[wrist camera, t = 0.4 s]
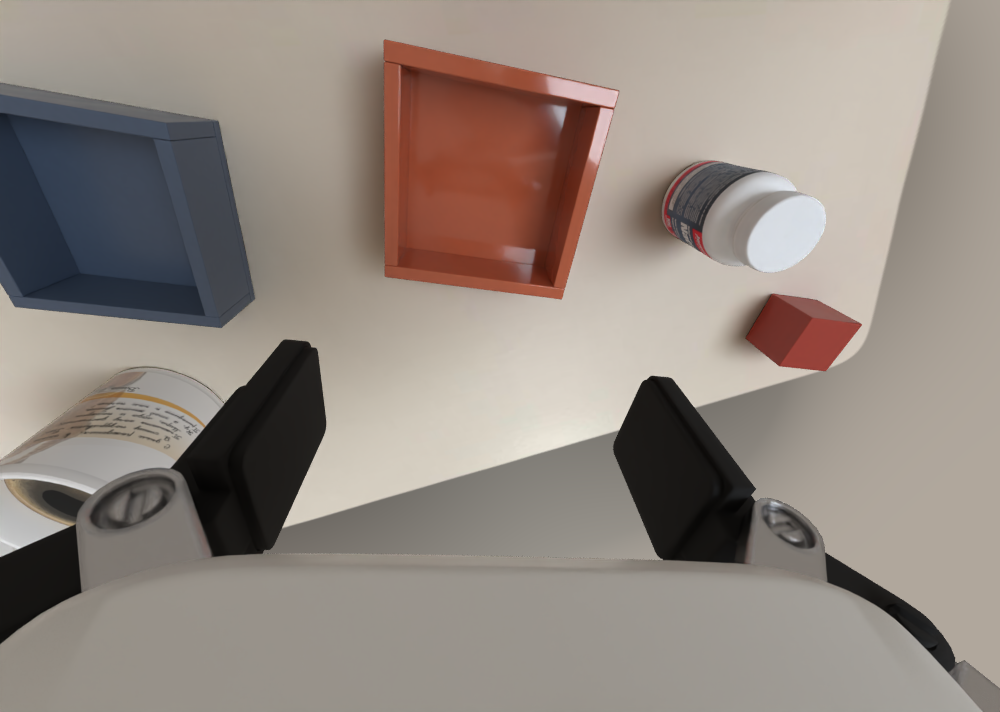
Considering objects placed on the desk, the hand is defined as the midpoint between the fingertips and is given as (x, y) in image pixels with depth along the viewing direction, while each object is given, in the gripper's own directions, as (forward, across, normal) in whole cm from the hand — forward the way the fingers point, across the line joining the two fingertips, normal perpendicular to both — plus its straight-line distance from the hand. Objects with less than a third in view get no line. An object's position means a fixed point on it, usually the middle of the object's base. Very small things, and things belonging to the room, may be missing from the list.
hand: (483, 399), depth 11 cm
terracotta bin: (+19, 0, -3) cm, 19 cm away
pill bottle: (+19, -15, -4) cm, 25 cm away
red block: (+19, -27, +4) cm, 33 cm away
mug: (+19, +26, +21) cm, 38 cm away
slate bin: (+19, +22, +2) cm, 29 cm away
